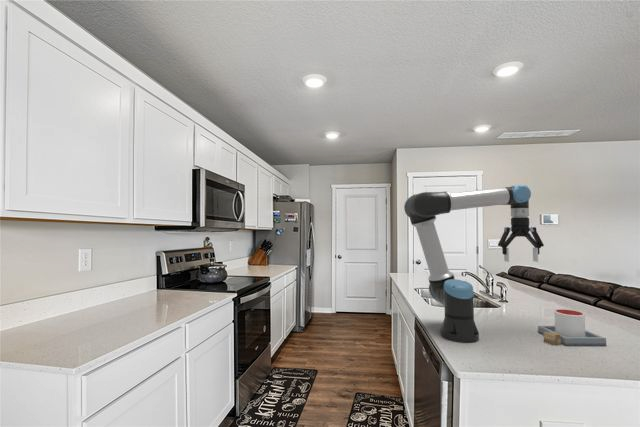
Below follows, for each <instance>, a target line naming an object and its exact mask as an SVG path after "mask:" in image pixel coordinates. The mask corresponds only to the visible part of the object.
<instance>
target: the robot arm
mask: <svg viewBox="0 0 640 427" xmlns="http://www.w3.org/2000/svg"><path fill="white" fill-rule="evenodd" d="M531 196H532V192H531V189H530V188H529V187H528V185H525V184H515V185H510V186H505V187H496V188H486V189H477V190H469V191H468V190H467V191H459V192H451V193H450V192H448V191H440V192H439V191H434V192H433V191H425V192H424V191H423V192H420V193H417V194H413V195H411V196H409V197H408V198H407V199H406V201H405V203H404V206H403V207H404V208H403V210H404V213H405V214H406V216H407V217H408V218H409V220H410V224H411V226H413V227H415V229H416V233H417V236H418V239H419V242H420V246H421V248H422V252H423V255H424V258H425V261H426V265H427V269H428V272H429V276H428V278H427V280H428V283H429V284H428V291H429V294H430V296H431V297H432V298H433V299H434V300H435V301H436V302H438V303H440V304H442V305H443V307H444V317H443V318H444V319H443V322H442V324H441V327H440V336H442V337H443V338H444V339H446V340H449V341H454V342H459V343H474V342H478V341H479V339H480V333H479V330H478V328H477V324H476V322H475V321H476V320H475V318H474V317H475V316H474V315H475V312H474V311H475V310H474V308H475V304H474V298H475V296H474V294H475V292H474V287H473V285H472V283H471V282H469V281H466V280H461V279H457V278H456V279H455V275H454V273H453V272H452V271H450V270H449V268H448V264H447V261H446V257H445V254H444V251H443V248H442V245H441V241H440V238H439V235H438V231H437V229H436V224H435V221H436V219H437V216H438V215H444V214H450V213H451V211H456V210H457V211H458V210H465V209H474V208H475V209H476V208H477V209H478V208H486V207H491V206H492V207H494V206H509V207H510V217H511V218H510V225H511V226H510V227H508V226H505V227H504V230H503V231H504V232H502V235H501V237H500V240H499V241H498V243H497V246H498V247H501V250H502V252H501V253H502V255H503V260H504V262H507V263H508V262H510V256H509V255H510V252H509V251H510V250H509V247H508V246H509V245H510V244H511V243H512V242H513V240H514V239H515V238H517V237H523V238H524V237H525V238H526V239H527V241H528V242H530V244H531V245H532V246H533V247H532V261H533V262H534V263H535V262H537V263H539V255H540V253H541V252H540V249H541V247H544V246H545V245H544V243H543V241H542V239H541V237H540V234H539V233H538V231H537V227H536V226H535V227H534V226H531V227H530V218H529V216H530V208H529V207H530V206H529V205H530V202H529V201H530V198H531ZM510 232H511V234H510ZM529 232H530V233H529ZM509 234H510V235H509ZM508 236H509V237H508Z"/></svg>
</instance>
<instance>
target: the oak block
mask: <svg viewBox="0 0 640 427" xmlns="http://www.w3.org/2000/svg"><path fill="white" fill-rule="evenodd" d="M545 342H546V343H545ZM543 343H545V344H547V343H548V345H550V344H551V346H553V345H555V346H559V345H562V344H561V334H557V333H554V332H551V331H550V332H544V335H543Z"/></svg>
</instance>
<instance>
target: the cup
mask: <svg viewBox="0 0 640 427" xmlns="http://www.w3.org/2000/svg"><path fill="white" fill-rule="evenodd" d="M585 318H586V317H585V313H584V312H581V311H578V310H571V309H563V308H562V309H560V308H558V309H555V310H554V326H555V332H556V333H558V334H561V335H562V336H564V337H585V330H586V321H585V320H586V319H585Z"/></svg>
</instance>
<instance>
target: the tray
mask: <svg viewBox="0 0 640 427" xmlns="http://www.w3.org/2000/svg"><path fill="white" fill-rule="evenodd" d="M550 331H551V332H554V333H556V332H555V325H538V326H537V333H538V332H539V334H540V333H541V335H542V334H543V335H542V336H544V332H550ZM557 334H558V333H557ZM560 345H562V346H564V347H607V338H606V337H604V336H601V335H599V334H597V333H594V332H591V331H589V330H587V329H585V337H564V336H562V335H561V344H560Z"/></svg>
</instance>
